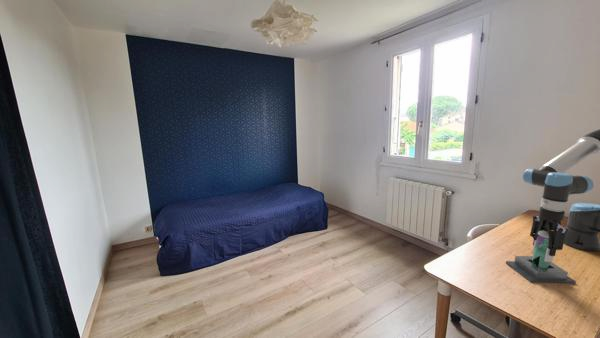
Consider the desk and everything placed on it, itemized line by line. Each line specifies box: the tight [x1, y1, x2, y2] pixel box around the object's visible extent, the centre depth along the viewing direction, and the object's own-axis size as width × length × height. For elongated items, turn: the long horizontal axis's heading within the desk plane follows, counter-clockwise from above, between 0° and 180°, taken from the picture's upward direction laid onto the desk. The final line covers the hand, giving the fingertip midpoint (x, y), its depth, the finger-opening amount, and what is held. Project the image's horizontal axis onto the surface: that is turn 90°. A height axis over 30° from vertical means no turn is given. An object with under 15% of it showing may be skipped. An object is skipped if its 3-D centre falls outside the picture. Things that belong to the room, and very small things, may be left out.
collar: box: [505, 255, 577, 285], centre depth 110 cm, size 18×14×4 cm
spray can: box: [532, 228, 550, 268], centre depth 108 cm, size 6×6×20 cm
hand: (541, 257), depth 109 cm, fingers closed on spray can, 5 cm apart
